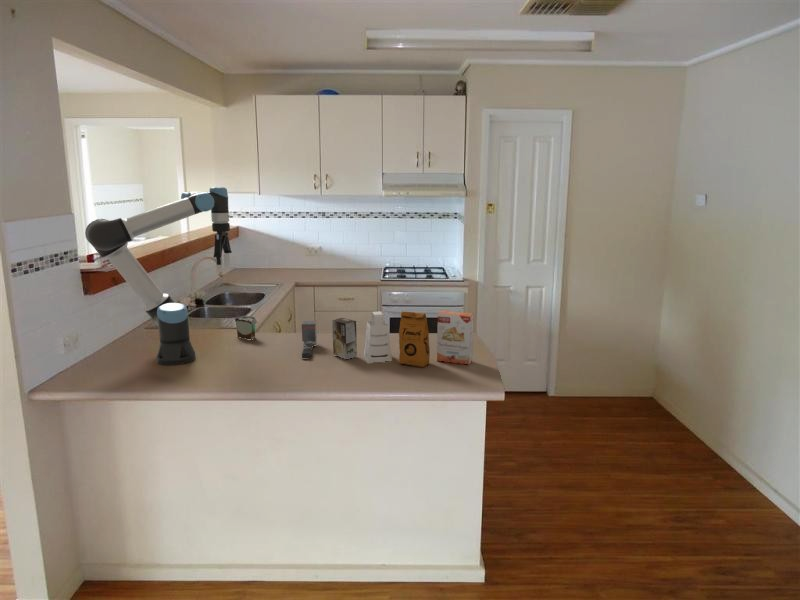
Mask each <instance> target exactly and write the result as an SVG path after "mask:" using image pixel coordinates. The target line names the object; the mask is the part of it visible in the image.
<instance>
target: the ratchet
mask: <svg viewBox="0 0 800 600" xmlns="http://www.w3.org/2000/svg"><path fill="white" fill-rule="evenodd" d="M302 342H303V346H304V345H305V347H304V348H302V349H303V350H302V352H301V359H302V358H310V359H311V357H310V355H311V356H312V351H311V349H312V350H313V348H312V346H314V345H316V344H317V345H318V343H317V342H318V340H317V339H316V341H302Z"/></svg>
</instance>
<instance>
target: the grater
mask: <svg viewBox="0 0 800 600" xmlns="http://www.w3.org/2000/svg"><path fill="white" fill-rule="evenodd" d="M366 322H367V323H366V334H365V342H364V349H363V350H364V351H363V357H364V356H365V357H364V359H365V358H366V359H365V361H366V363H367V364H373V363H372V362H382V363H386V362H385V361H392V362H393V357H392V349H391V348H392V347H391V341H390V334H389V333H390V331H389V325H388V323H387V322H386V320H384V314H383V312H382V311H380V310H379V311H372V312H371V320H368V321H366ZM366 354H367V355H366ZM378 356H379V357H378Z"/></svg>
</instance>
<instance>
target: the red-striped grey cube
mask: <svg viewBox="0 0 800 600" xmlns="http://www.w3.org/2000/svg"><path fill="white" fill-rule="evenodd" d="M317 325H318V324H317V320H303V321H302V323H301V337H302V340H301V342H303V341H316V339H317V338H318V335H317V334H318V333H317V331H318V330H317Z"/></svg>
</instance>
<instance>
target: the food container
mask: <svg viewBox="0 0 800 600" xmlns="http://www.w3.org/2000/svg"><path fill="white" fill-rule="evenodd" d="M234 322H235V328H236V334H237V338H238V337H241V338H246V339H251V340H252V339H254V338H255V339H256V324H257V323H258V322H257V319H256V317H254V316H251V315H250V316H248V315H244V316H236V317H234ZM241 338H240V339H241ZM246 339H245V340H246ZM255 339H254V340H255ZM252 341H253V340H252Z"/></svg>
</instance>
